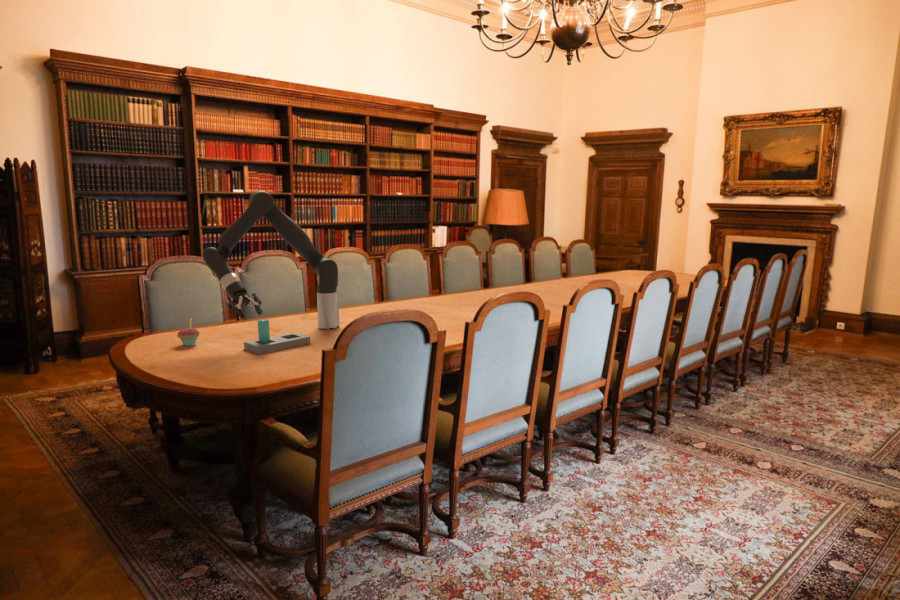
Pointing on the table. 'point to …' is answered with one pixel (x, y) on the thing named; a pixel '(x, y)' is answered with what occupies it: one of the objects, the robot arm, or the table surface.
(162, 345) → the table surface
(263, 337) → the teal round-top peg
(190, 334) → the cupcake
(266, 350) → the rack
